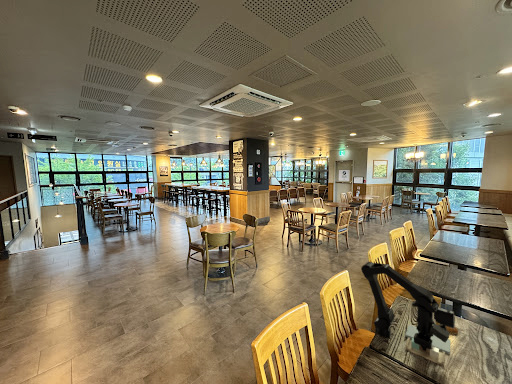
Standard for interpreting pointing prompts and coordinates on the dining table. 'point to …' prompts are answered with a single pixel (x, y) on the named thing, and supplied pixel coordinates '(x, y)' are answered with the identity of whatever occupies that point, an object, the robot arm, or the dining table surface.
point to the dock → (436, 341)
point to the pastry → (450, 329)
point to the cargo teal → (414, 344)
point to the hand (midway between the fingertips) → (424, 348)
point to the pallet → (426, 353)
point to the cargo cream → (434, 352)
